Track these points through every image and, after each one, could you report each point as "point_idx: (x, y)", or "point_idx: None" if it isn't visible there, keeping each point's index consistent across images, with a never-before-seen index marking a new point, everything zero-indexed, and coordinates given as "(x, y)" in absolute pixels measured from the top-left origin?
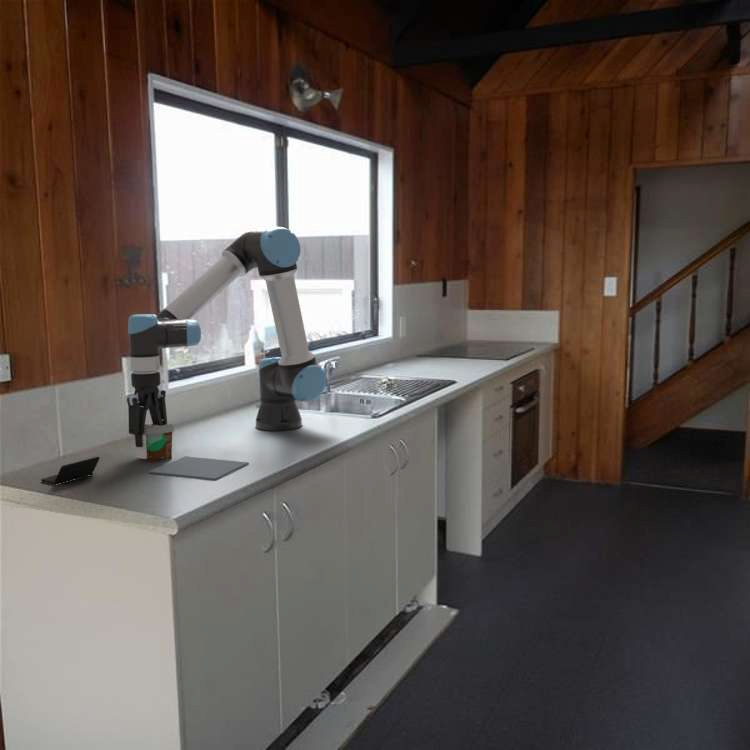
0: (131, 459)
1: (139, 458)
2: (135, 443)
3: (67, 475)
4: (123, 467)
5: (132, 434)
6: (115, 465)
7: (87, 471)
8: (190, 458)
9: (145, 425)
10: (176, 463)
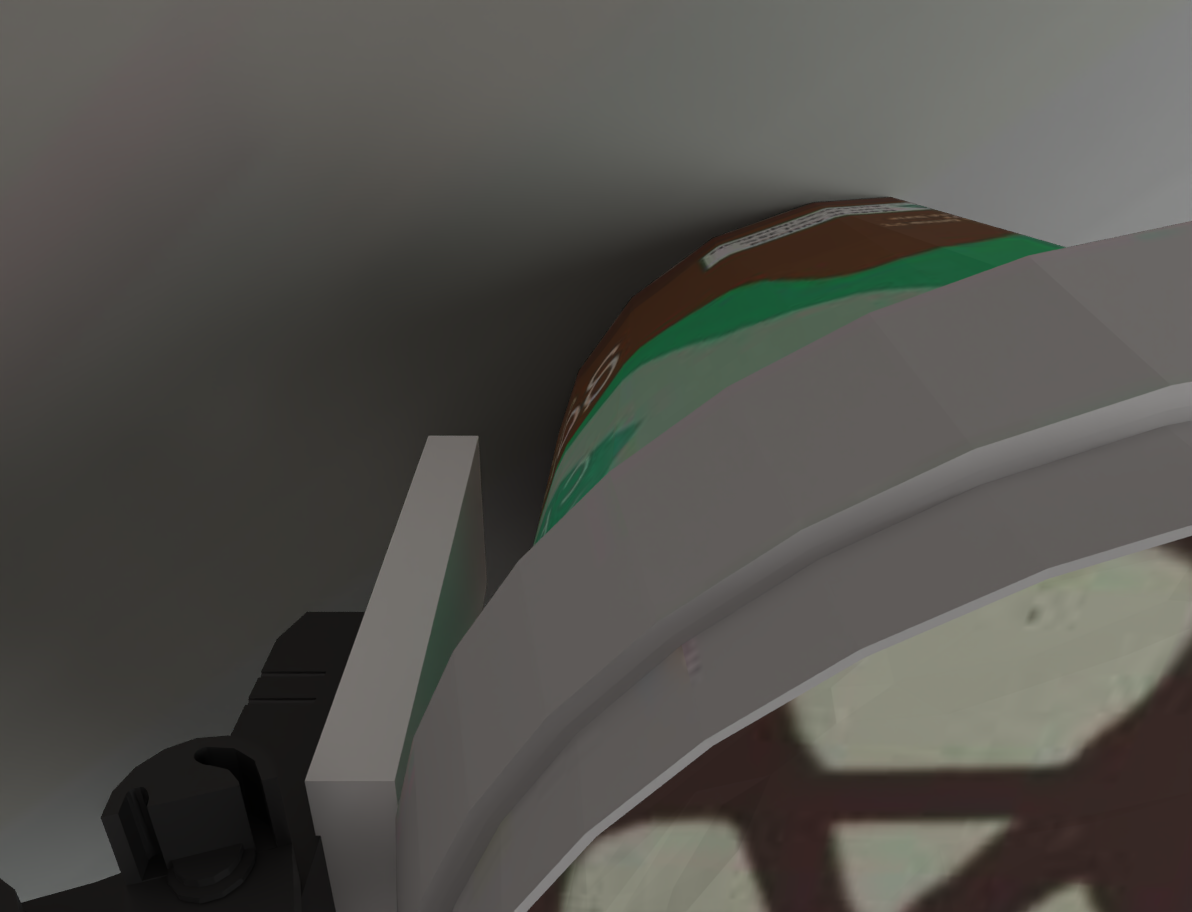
0: (608, 134)
1: (629, 308)
2: (261, 671)
3: None
4: (137, 356)
5: (180, 769)
6: (147, 132)
7: None
8: None
9: (1063, 822)
10: None
